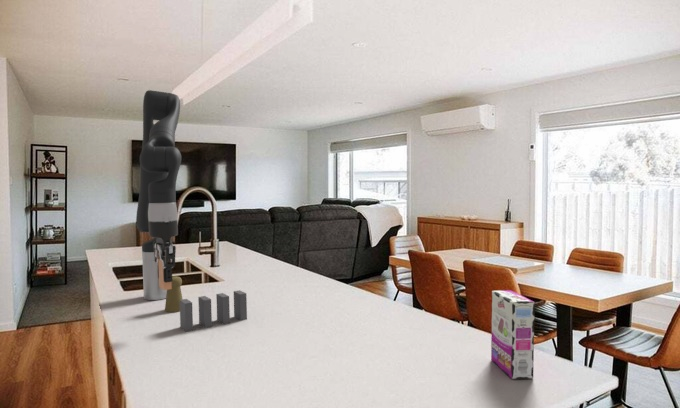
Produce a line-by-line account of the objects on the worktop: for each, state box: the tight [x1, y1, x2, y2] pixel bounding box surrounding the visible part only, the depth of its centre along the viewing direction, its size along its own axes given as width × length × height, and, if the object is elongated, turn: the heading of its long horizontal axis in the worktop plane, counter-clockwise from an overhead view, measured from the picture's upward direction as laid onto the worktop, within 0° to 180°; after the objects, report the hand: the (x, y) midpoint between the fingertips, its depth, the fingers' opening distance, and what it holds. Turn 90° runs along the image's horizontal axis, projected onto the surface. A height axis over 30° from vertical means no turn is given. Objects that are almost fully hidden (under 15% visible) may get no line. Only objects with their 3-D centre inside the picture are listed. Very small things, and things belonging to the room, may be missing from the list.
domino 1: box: [179, 298, 194, 332], centre depth 133 cm, size 5×2×8 cm, turn 36°
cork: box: [164, 275, 184, 314], centre depth 153 cm, size 6×6×11 cm
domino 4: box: [233, 289, 248, 321], centre depth 143 cm, size 5×2×8 cm, turn 36°
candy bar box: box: [490, 289, 536, 380], centre depth 102 cm, size 11×5×16 cm, turn 5°
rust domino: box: [158, 259, 172, 290], centre depth 129 cm, size 5×2×8 cm, turn 36°
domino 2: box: [197, 295, 213, 329], centre depth 136 cm, size 5×2×8 cm, turn 36°
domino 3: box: [215, 292, 231, 325], centre depth 140 cm, size 5×2×8 cm, turn 36°
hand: (165, 279), depth 129 cm, fingers closed on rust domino, 5 cm apart
